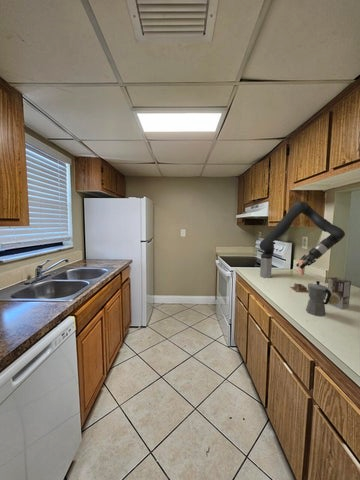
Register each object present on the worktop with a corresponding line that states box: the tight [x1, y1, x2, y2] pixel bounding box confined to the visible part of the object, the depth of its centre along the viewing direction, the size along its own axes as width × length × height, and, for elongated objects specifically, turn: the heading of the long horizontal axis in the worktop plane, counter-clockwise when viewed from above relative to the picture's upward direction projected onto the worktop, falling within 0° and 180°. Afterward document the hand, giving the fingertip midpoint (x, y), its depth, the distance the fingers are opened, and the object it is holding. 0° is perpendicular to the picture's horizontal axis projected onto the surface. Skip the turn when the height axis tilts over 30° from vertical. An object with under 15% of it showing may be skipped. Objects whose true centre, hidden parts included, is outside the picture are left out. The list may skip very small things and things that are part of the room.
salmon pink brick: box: [297, 259, 306, 276], centre depth 147 cm, size 5×2×10 cm, turn 173°
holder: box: [289, 282, 309, 294], centre depth 148 cm, size 12×10×5 cm
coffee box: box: [327, 277, 352, 310], centre depth 123 cm, size 9×6×16 cm
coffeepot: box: [305, 280, 331, 317], centre depth 112 cm, size 15×9×18 cm, turn 6°
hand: (298, 266), depth 147 cm, fingers closed on salmon pink brick, 5 cm apart
